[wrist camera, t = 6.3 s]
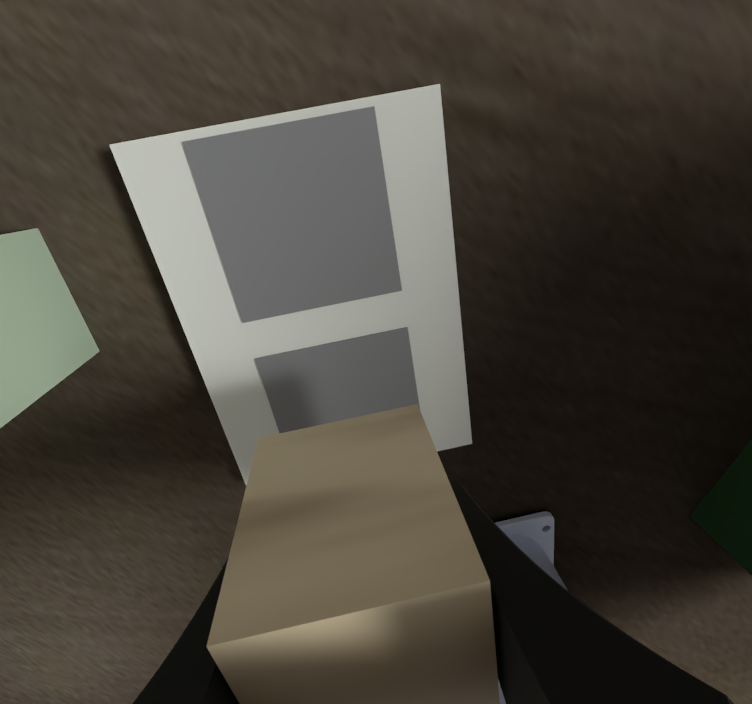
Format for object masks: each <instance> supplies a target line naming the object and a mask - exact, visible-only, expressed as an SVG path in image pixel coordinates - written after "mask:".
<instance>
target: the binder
mask: <svg viewBox="0 0 752 704" xmlns="http://www.w3.org/2000/svg"><path fill="white" fill-rule="evenodd" d="M689 517H690V518H691V519H692V520H693V521H694V522H695V523H696V524H697V525H698V526H699V527H701V528H702V529H703V530H704V531H705V532H706V533H707V534H708V535H709V536H710V537H711V538H712V539H713V540H714V541H716V542H717V543H718V544H719V545H720V546H721V547H722V548H723V549H724V550H725V551H726V552H727V553H728V554H729V555H731V556H732V557H733V558H734V559H735V560H736V561H737V562H738V563H739V564H740V565H741V566H742V567H743V568H744V569H746V570H747V571H748V572H749V573H750V574H751V575H752V439H751V440H750V441H749V443H748V444H747V445H746V446H745V448H744V449H743V450H742V451H741V453H740V454H739V455H738V456H737V458H736V459H735V460H734V461H733V463H732V464H731V465H730V466H729V468H728V469H727V470H726V471H725V473H724V474H723V475H722V476H721V478H720V479H719V480H718V481H717V483H716V484H715V485H714V486H713V488H712V489H711V490H710V491H709V493H708V494H707V495H706V496H705V498H704V499H703V500H702V501H701V503H700V504H699V505H698V506H697V508H696V509H695V510H694V511H693V513H692V514H691V515H690V516H689Z"/></svg>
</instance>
